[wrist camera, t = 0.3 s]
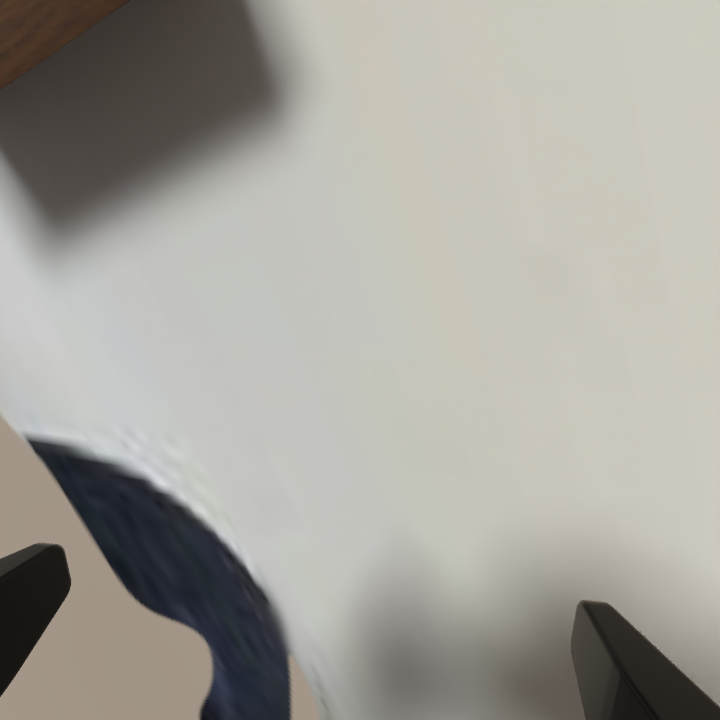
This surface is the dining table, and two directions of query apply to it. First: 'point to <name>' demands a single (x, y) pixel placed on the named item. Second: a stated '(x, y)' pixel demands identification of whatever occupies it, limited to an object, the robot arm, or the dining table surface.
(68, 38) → the tissue box cover
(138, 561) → the dining table surface
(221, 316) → the dining table surface
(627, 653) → the robot arm
